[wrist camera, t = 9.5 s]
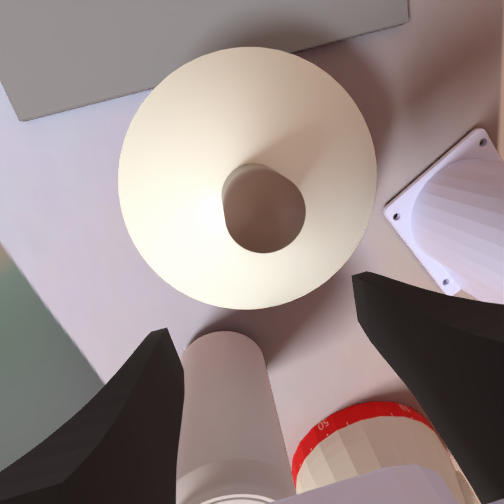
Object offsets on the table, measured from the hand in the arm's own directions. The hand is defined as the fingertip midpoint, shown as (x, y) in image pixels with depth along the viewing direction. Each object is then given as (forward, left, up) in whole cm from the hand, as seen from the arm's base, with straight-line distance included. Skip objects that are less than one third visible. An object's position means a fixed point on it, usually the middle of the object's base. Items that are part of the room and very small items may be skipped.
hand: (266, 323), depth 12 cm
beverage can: (-6, +8, -11) cm, 15 cm away
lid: (+3, -3, -7) cm, 8 cm away
